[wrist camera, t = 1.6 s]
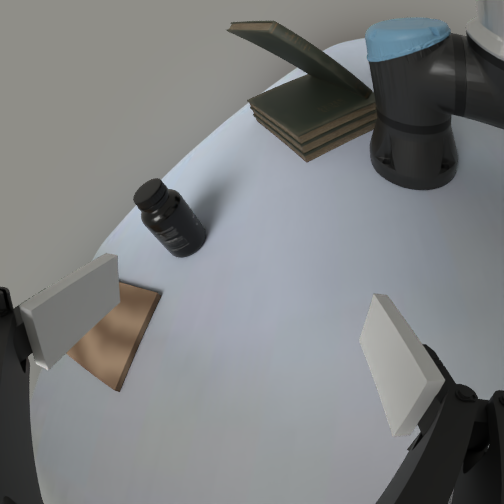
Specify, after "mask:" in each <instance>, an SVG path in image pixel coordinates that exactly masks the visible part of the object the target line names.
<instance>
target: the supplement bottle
mask: <svg viewBox="0 0 504 504" xmlns="http://www.w3.org/2000/svg"><path fill="white" fill-rule="evenodd" d="M133 200H134V202H135V204H136V205H137V206H138V208H139V210H140V211H142V213H141V218H142V222H143V223H144V225H145V226H146V227H147V228H148V229H149V230H150V231H151V233H152V234H153V235H154V236H155V237H156V238H157V239H158V240H159V241H160V242H161V243H162V245H163V246H164V247H165V248H166V249H167V250H168V251H169V252H170V253H171V254H172V255H173V256H175V257H180V258H182V257H187V256H190V255H192V254H193V253H195V252H196V251H197V250H198V249H199V248H200V247H201V246H202V244H203V242H204V240H205V236H206V232H205V229H204V227H203V225H202V224H201V222H200V221H199V220H198V218H197V217H196V215H195V214H194V213H193V211H192V210H191V209H190V207H189V206H188V204H187V203H186V202H185V200H184V199H183V198H182V196H181V195H180V194H179V193H178V192H177V191H175V190H172V189H168V188H167V187H166V186H165V185H164V183H163V182H162V181H161V180H160V179H158V178H157V179H151V180H149V181H147V182H146V183H145V184H143V185H142V186H141V187H140V188H139V189H138V190H137V192H136V193H135V195H134V199H133Z"/></svg>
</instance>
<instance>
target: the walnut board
mask: <svg viewBox="0 0 504 504" xmlns="http://www.w3.org/2000/svg"><path fill="white" fill-rule="evenodd" d="M119 292H120V303H119V304H118V305H117V306H115V307H114V308H113V309H112V310H111V311H110V312H109V313H108V314H107V315H106V316H105V317H103V318H102V319H101V320H100V321H99V322H98V323H97V324H96V325H95V326H94V327H93V328H92V329H91V330H90V331H88V332H87V333H86V334H85V335H84V336H83V337H82V338H81V339H80V340H79V341H78V342H77V343H76V344H75V345H74V346H73V347H72V348H71V349H70V350H69V351H68V352H67V353H66V354H68V355H69V356H70V357H71V358H72V359H74V360H75V361H76V362H77V363H79V364H80V365H81V366H82V367H84V368H85V369H86V370H88V371H89V372H90V373H91V374H93V375H94V376H95V377H97V378H98V379H99V380H101V381H102V382H104V383H105V384H106V385H108V386H109V387H111V388H112V389H114V390H115V391H118V392H120V389H121V387H122V384H123V382H124V379H125V377H126V374H127V372H128V370H129V367H130V365H131V362H132V360H133V358H134V355H135V353H136V351H137V348H138V346H139V344H140V341H141V339H142V337H143V335H144V332H145V330H146V328H147V326H148V324H149V321H150V319H151V317H152V315H153V313H154V310H155V308H156V306H157V304H158V302H159V300H160V298H161V295H160V294H158V293H156V292H153V291H149V290H145V289H142V288H138V287H135V286H131V285H128V284H124V283H121V282H119Z"/></svg>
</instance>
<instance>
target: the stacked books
mask: <svg viewBox="0 0 504 504" xmlns="http://www.w3.org/2000/svg"><path fill="white" fill-rule="evenodd" d="M231 24H232V25H231V27H230V29H229V30H227V31H228V32H231V33H233V34H235V35H237V36H239V37H241V38H243V39H246V40H248V41H250V42H252V43H254V44H256V45H258V46H260V47H262V48H264V49H266V50H267V51H269V52H271V53H273V54H275V55H277V56H279V57H280V58H282V59H284V60H286V61H288V62H289V63H291V64H293V65H294V66H296V67H298V68H299V69H301V70H303V71H304V72H306V73H307V75H305V76H302V77H300V78H297V79H295V80H292V81H290V82H287V83H285V84H282V85H280V86H278V87H275V88H273V89H271V90H268V91H266V92H264V93H262V94H260V95H257V96H255V97H253V98H251V99H249V100H247V101H248V102H249V103H250V105H251V107H250V108H251V109H252V110H253V112H254V114H253V115H254V117H256V120H257V121H258V122H259V123H260V124H261V125H263V126H264V127H265V128H266V129H268V130H269V131H270V132H271V133H273V134H274V135H275V136H276V137H277V138H279V139H280V140H281V141H282V142H283V143H285V144H286V145H287V146H288V147H289V148H291V149H292V150H293V151H294V152H295V153H296V154H298V155H299V156H300V157H301V158H302V159H303V160H304V161H306V162H309V161H311V160H313V159H315V158H317V157H319V156H320V155H322V154H324V153H326V152H328V151H330V150H332V149H334V148H336V147H338V146H340V145H342V144H344V143H346V142H348V141H350V140H352V139H355V138H357V137H359V136H361V135H363V134H365V133H367V132H369V131H371V130H373V129H374V127H375V123H376V120H377V109H376V102H375V95H374V92H372V90H371V89H370V88H368V87H367V86H366V85H365V84H364V83H363V82H361V81H360V80H359V79H358V78H357V77H355V76H354V75H353V74H352V73H350V72H349V71H348V70H347V69H345V68H344V67H343V66H341V65H340V64H339V63H338V62H336V61H335V60H334V59H332V58H331V57H329V56H328V55H327V54H325V53H324V52H322V51H321V50H319V49H318V48H317V47H315V46H314V45H312V44H311V43H309V42H308V41H306V40H305V39H303V38H302V37H300V36H298V35H297V34H295V33H294V32H292V31H291V30H289V29H287V28H285V27H284V26H282V25H281V24H279V23H277V22H275V21H247V22H233V23H231Z"/></svg>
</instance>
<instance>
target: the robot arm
mask: <svg viewBox="0 0 504 504" xmlns="http://www.w3.org/2000/svg"><path fill="white" fill-rule="evenodd" d="M476 8H477V16H476V17H475V18H473V19H471V20H470V21H468V22H467V25H466V34H467V36H463V35H458V34H453V33H450V28H449V27H448V25H447V24H446V23H445V22H443V21H441V20H436V19H429V18H399V19H391V20H386V21H382V22H379V23H376V24H374V25H372V26H371V27H370V28H368V30H367V31H366V34H365V39H366V46H367V53H368V54H367V59H368V61H369V65H370V71H371V76H372V82H373V88H374V95H375V102H376V109H377V120H376V123H375V127H374V131H373V134H372V138H371V142H370V157H371V162H372V165H373V167H374V168H375V170H376V171H377V172H378V173H379V174H380V175H381V176H382V177H383V178H385V179H386V180H388V181H390V182H392V183H394V184H396V185H399V186H401V187H405V188H409V189H416V190H429V189H435V188H439V187H441V186H444V185H445V184H447V183H448V182H450V181H451V180H452V178H453V177H454V175H455V173H456V168H457V162H458V155H457V149H456V145H455V140H454V136H453V132H452V128H451V114H453V115H457V116H461V117H465V118H469V119H472V120H476V121H479V122H482V123H486V124H489V125H492V126H495V127H498V128H501V129H504V0H476ZM119 303H120V292H119V277H118V255H113V254H107V253H106V254H104V255H102V256H100V257H98V258H97V259H95V260H93V261H91V262H90V263H88V264H86V265H84V266H83V267H81V268H79V269H78V270H76V271H74V272H72V273H71V274H69V275H67V276H66V277H64V278H62V279H61V280H59V281H57V282H56V283H54V284H52V285H51V286H49V287H47V288H45V289H44V290H42V291H40V292H39V293H38V294H36V295H34V296H32V297H31V298H29V299H28V300H26V301H25V302H23V303H22V304H20V305H19V306H17V307H15V308H14V309H13V305H12V301H11V297H10V292H9V290H8V289H7V288H5V287H0V504H44V503H43V500H42V497H41V493H40V488H39V483H38V478H37V473H36V467H35V461H34V454H33V446H32V436H31V424H30V404H29V373H30V363H29V359H28V356H29V355H30V354H31V353H33V356H34V359H35V362H36V364H37V365H39V366H41V367H43V368H45V369H47V370H50V368H51V367H52V366H53V365H54V364H55V363H56V362H58V361H59V360H60V359H61V358H62V357H63V356H64V355H65V354H66V353H67V352H68V351H69V350H70V349H71V348H72V347H73V346H74V345H75V344H76V343H77V342H78V341H79V340H80V339H81V338H82V337H83V336H84V335H85V334H86V333H87V332H88V331H90V330H91V329H92V328H93V327H94V326H95V325H96V324H97V323H98V322H99V321H100V320H101V319H102V318H103V317H105V316H106V315H107V314H108V313H109V312H110V311H111V310H112V309H113V308H114V307H115V306H117V305H118V304H119ZM359 342H360V344H361V347H362V350H363V352H364V355H365V358H366V360H367V363H368V366H369V368H370V371H371V374H372V376H373V379H374V382H375V385H376V388H377V391H378V393H379V396H380V399H381V402H382V405H383V408H384V411H385V414H386V417H387V420H388V423H389V426H390V429H391V433H392V436H393V437H397V436H407V435H411V433H412V432H413V430H414V429H415V428H416V426H417V425H418V426H419V429H420V431H421V432H420V434H419V435H418V436H417V438H416V439H415V440H414V441H413V443H412V444H411V445H410V447H409V448H408V449H407V450H409V452H408V454H407V456H406V458H405V459H404V461H403V463H402V464H401V466H400V468H399V469H398V471H397V473H396V474H395V476H394V477H393V479H392V480H391V482H390V483H389V485H388V486H387V488H386V489H385V491H384V492H383V494H382V495H381V497H380V498H379V499H378V501H377V502H376V504H447V503H448V501H449V498H450V496H451V494H452V491H453V489H454V492H453V499H452V504H504V391H503V390H498V391H495V393H494V394H493V396H492V397H491V399H490V400H482V399H478V397H477V395H476V393H475V392H474V391H473V390H472V389H471V388H469V387H467V386H465V385H462V384H456V383H455V382H454V380H453V379H452V377H451V375H450V374H449V372H448V371H447V369H446V368H445V366H443V363H442V362H441V360H439V357H438V356H437V355H436V353H435V352H434V351H433V350H432V349H431V348H430V347H428V346H427V345H426V344H422V343H421V342H420V340H419V339H418V337H417V336H416V335H415V333H414V332H413V330H412V329H411V327H410V326H409V324H408V323H407V322H406V320H405V319H404V317H403V316H402V315H401V313H400V312H399V310H398V309H397V308H396V306H395V305H394V304H393V302H392V301H391V300H390V298H389V297H388V296H387V295H382V294H373V298H372V301H371V304H370V308H369V311H368V314H367V317H366V321H365V324H364V327H363V330H362V333H361V336H360V339H359ZM489 444H490V445H489ZM488 445H489V448H488Z"/></svg>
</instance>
